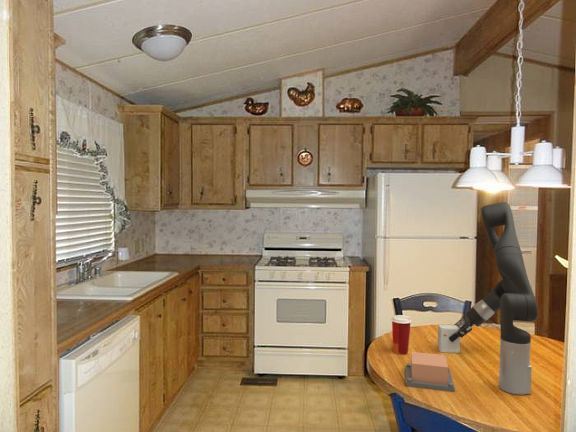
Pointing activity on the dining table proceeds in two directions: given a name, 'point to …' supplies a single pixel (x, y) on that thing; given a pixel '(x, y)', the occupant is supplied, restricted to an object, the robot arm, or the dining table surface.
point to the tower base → (429, 372)
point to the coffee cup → (400, 333)
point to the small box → (444, 341)
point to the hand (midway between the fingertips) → (449, 337)
